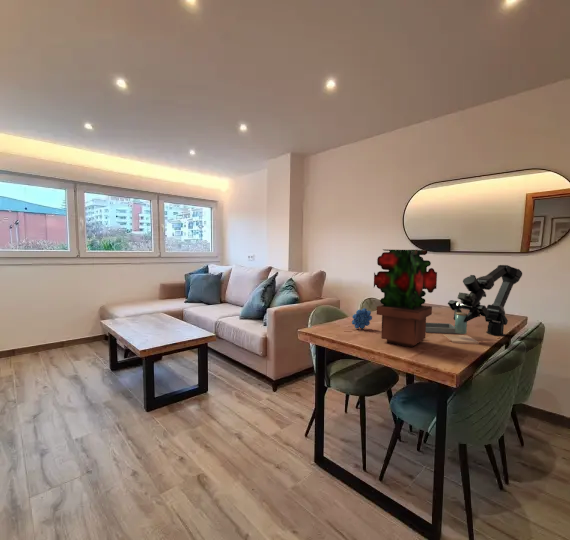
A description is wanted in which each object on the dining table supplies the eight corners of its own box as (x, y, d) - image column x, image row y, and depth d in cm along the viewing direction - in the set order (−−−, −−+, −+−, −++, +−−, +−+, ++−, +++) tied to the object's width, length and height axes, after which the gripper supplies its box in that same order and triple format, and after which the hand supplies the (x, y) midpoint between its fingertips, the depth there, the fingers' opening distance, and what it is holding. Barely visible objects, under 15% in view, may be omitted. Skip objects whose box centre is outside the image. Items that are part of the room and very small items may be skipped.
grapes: (369, 327, 174) (369, 306, 173) (373, 330, 167) (373, 309, 167) (349, 327, 174) (350, 306, 173) (352, 330, 167) (353, 308, 166)
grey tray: (449, 329, 171) (449, 323, 171) (458, 335, 159) (459, 328, 159) (416, 328, 173) (416, 322, 173) (423, 333, 161) (423, 327, 161)
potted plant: (372, 342, 144) (374, 249, 141) (389, 333, 161) (392, 250, 158) (420, 352, 129) (424, 249, 127) (434, 341, 146) (438, 250, 144)
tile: (467, 337, 155) (467, 335, 155) (478, 344, 144) (478, 342, 144) (442, 336, 157) (442, 334, 157) (452, 342, 145) (452, 340, 145)
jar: (457, 330, 154) (458, 311, 153) (468, 333, 149) (469, 313, 149) (452, 332, 151) (453, 312, 150) (463, 334, 147) (464, 314, 146)
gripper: (450, 285, 159) (435, 306, 155) (486, 289, 142) (470, 313, 138) (459, 298, 163) (445, 320, 159) (496, 304, 146) (480, 328, 142)
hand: (459, 320), depth 149 cm, fingers closed on jar, 5 cm apart
